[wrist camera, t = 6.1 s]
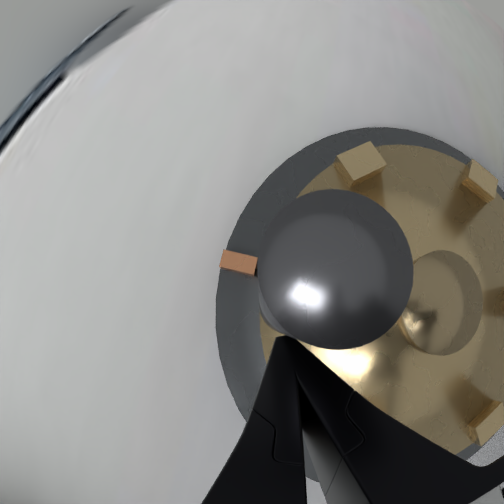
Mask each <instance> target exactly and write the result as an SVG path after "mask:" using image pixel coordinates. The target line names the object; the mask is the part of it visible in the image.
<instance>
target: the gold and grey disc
mask: <svg viewBox="0 0 504 504" xmlns="http://www.w3.org/2000/svg"><path fill="white" fill-rule="evenodd" d="M369 141H371V143H372V144H373V145H374V147H377V146H382V145H399V144H402V145H412V146H420V147H424V148H428V149H432V150H436V151H438V152H441V153H443V154H446V155H448V156H451V157H453V158H454V159H456V160H458V161H460V162H462V163H464V164H465V165H466V164H467V163H469V162H470V161H471V159H470V158H468V157H467V156H466V155H464V154H463V153H462V152H460V151H458V150H457V149H455V148H453V147H451V146H449V145H448V144H446V143H444V142H442V141H439V140H437V139H435V138H432V137H430V136H427V135H424V134H420V133H417V132H413V131H409V130H403V129H396V128H388V127H383V128H362V129H355V130H349V131H345V132H341V133H338V134H335V135H331V136H328V137H326V138H324V139H321V140H319V141H317V142H315V143H313V144H311V145H309V146H307V147H305V148H304V149H302V150H301V151H299V152H298V153H296V154H295V155H293V156H292V157H290V158H289V159H287V160H286V161H285V162H284V163H283V164H282V165H280V166H279V167H278V168H277V169H276V170H275V171H274V172H273V173H272V174H270V175H269V177H268V178H267V179H266V180H265V181H264V183H263V184H262V185H261V186H260V187H259V189H258V190H257V191H256V192H255V193H254V195H253V196H252V198H251V199H250V201H249V203H248V204H247V206H246V207H245V209H244V211H243V212H242V214H241V215H240V217H239V219H238V221H237V224H236V226H235V228H234V230H233V233H232V235H231V237H230V239H229V242H228V245H227V248H226V250H223V254H222V258H221V262H220V265H219V267H220V268H221V269H220V275H219V282H218V289H217V295H216V333H217V341H218V348H219V356H220V360H221V363H222V367H223V371H224V374H225V378H226V381H227V385H228V387H229V389H230V391H231V394H232V396H233V398H234V400H235V403H236V405H237V407H238V409H239V411H240V413H241V414H242V416H243V417H244V419H245V420H246V422H247V420H248V418H249V415H250V412H251V410H252V407H253V404H254V401H255V398H256V395H257V392H258V389H259V387H260V384H261V381H262V378H263V375H264V372H265V368H266V365H267V364H266V360H265V357H264V352H263V346H262V339H261V333H260V311H259V292H258V273H257V261H258V252H259V248H260V244H261V241H262V238H263V235H264V233H265V231H266V229H267V227H268V225H269V224H270V222H271V221H272V220H273V218H274V217H275V216H276V214H277V213H278V212H279V211H280V210H281V209H282V208H283V207H285V206H286V205H287V204H288V203H290V202H291V201H293V200H295V199H296V198H297V196H298V195H299V194H300V192H301V191H302V190H303V189H304V188H305V187H306V186H307V185H308V184H309V183H310V182H311V181H312V180H313V179H314V178H315V177H316V176H317V175H318V174H320V173H321V172H322V171H324V170H325V169H326V168H328V167H329V166H330V165H332V164H333V163H334V161H335V158H336V156H337V155H339V154H341V153H343V152H346V151H348V150H350V149H353V148H355V147H357V146H359V145H362V144H364V143H366V142H369ZM496 192H497V193H498V194H499V195H500V196H501V197H502V199H503V200H504V192H503V191H502V190H501V188H500V187H499V186H498V185H497V189H496ZM485 443H486V442H485ZM485 443H484V444H485ZM484 444H483V445H484ZM303 445H304V460H305V475H306V477H308V478H310V479H312V480H314V481H317V482H319V480H318V477H317V474H316V471H315V469H314V466H313V463H312V460H311V457H310V455H309V452H308V449H307V446H306V444H305V441H304V438H303ZM483 445H482V446H483ZM482 446H479V445H477V444H475V443H472V444H471V445H470V446H468V447H467V448H465V449H464V450H462V451H460V452H459V453H457V454H456V456H458V457H460V458H462V459H464V460H465V461H466V460H467V459H468V458H470V457H471V456H472V455H474V454H475V453H476V452H477V451H478V450H479V449H480V448H481V447H482ZM319 483H320V482H319Z"/></svg>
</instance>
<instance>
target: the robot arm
mask: <svg viewBox="0 0 504 504" xmlns="http://www.w3.org/2000/svg"><path fill="white" fill-rule="evenodd" d="M303 438H304V441H305V444H306V446H307V449H308V452H309V455H310V457H311V460H312V463H313V466H314V469H315V471H316V474H317V477H318V480H319V482H320V485H321V488H322V491H323V493H324V496H325V499H326V502H327V504H504V488H502V489H501V487H500V484H501V483H503V482H504V456H502V457H500V458H499V459H497V460H496V461H494V462H493V463H491V464H489V465H487V466H483V467H480V466H475V465H473V464H471V463H469V462H467V461H465V460H464V459H462V458H460V457H458V456H456V455H455V454H453V453H451V452H449V451H448V450H446V449H444V448H442V447H441V446H439V445H437V444H436V443H434V442H432V441H430V440H429V439H427V438H425V437H424V436H422V435H420V434H419V433H417V432H415V431H414V430H412V429H410V428H409V427H407V426H405V425H404V424H402V423H401V422H399V421H397V420H396V419H394V418H393V417H391V416H389V415H388V414H386V413H385V412H383V411H382V410H380V409H379V408H377V407H376V406H374V405H373V404H372V403H371V402H369V401H368V400H367V399H366V398H364V397H363V396H362V395H361V394H359V393H358V392H357V391H354V389H353V388H352V387H351V386H350V385H348V384H347V383H346V382H345V381H344V380H343V379H341V378H340V377H339V376H338V375H337V374H336V373H335V372H333V371H332V370H331V369H330V368H329V367H328V366H326V365H325V364H324V363H323V362H322V361H321V360H320V359H318V358H317V357H316V356H315V355H314V354H313V353H312V352H310V351H309V350H308V349H307V348H306V347H305V346H304V345H303V344H301V343H300V342H299V341H298V340H297V339H294V338H292V337H289V336H287V335H284V336H278V337H276V338H275V341H274V344H273V347H272V350H271V353H270V356H269V359H268V362H267V365H266V368H265V372H264V375H263V378H262V381H261V384H260V387H259V389H258V392H257V395H256V398H255V401H254V404H253V407H252V410H251V412H250V415H249V418H248V420H247V423H246V425H245V428H244V430H243V433H242V435H241V437H240V439H239V441H238V443H237V445H236V446H235V448H234V450H233V452H232V453H231V455H230V457H229V459H228V460H227V462H226V464H225V466H224V467H223V469H222V471H221V472H220V474H219V476H218V477H217V479H216V481H215V482H214V484H213V486H212V487H211V489H210V491H209V492H208V494H207V495H206V497H205V499H204V500H203V502H202V503H201V504H307V493H306V475H305V460H304V445H303Z"/></svg>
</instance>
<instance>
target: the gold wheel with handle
mask: <svg viewBox="0 0 504 504" xmlns="http://www.w3.org/2000/svg"><path fill="white" fill-rule="evenodd" d="M497 183H498V179H496V178H495V177H494V176H493V175H492V174H491V173H489V172H488V171H487V170H486V169H485V168H483V167H482V166H481V165H480V164H479V163H477V162H476V161H475V160H474V159H472V160H471V161H470V162H469V163H467V164H466V165H465V164H464V163H462V162H460V161H458V160H456V159H454V158H453V157H451V156H448V155H446V154H443V153H441V152H438V151H436V150H432V149H428V148H424V147H420V146H412V145H402V144H399V145H382V146H377V147H374V145H373V144H372V143H371V141H369V142H366V143H364V144H362V145H359V146H357V147H355V148H353V149H350V150H348V151H346V152H343V153H341V154H339V155H337V156H336V158H335V161H334V163H333V164H332V165H330V166H329V167H328V168H326V169H325V170H324V171H322V172H321V173H320V174H318V175H317V176H316V177H315V178H314V179H313V180H312V181H311V182H310V183H309V184H308V185H307V186H306V187H305V188H304V189H303V190H302V191H301V192H300V194H299V195H298V196H297V198H296V199H295V200H293V201H291V202H290V203H288V204H287V205H286V206H285V207H283V208H282V209H281V210H280V211H279V212H278V213H277V214H276V216H275V217H274V218H273V220H272V221H271V222H270V224H269V225H268V227H267V229H266V231H265V233H264V235H263V238H262V241H261V244H260V248H259V252H258V261H257V273H258V292H259V311H260V333H261V339H262V346H263V352H264V357H265V360H266V364H267V362H268V359H269V356H270V353H271V350H272V347H273V344H274V341H275V338H276V337H278V336H284V335H287V336H289V337H292V338H294V339H297V340H298V341H299V342H300V343H301V344H303V345H304V346H305V347H306V348H307V349H308V350H309V351H310V352H312V353H313V354H314V355H315V356H316V357H317V358H318V359H320V360H321V361H322V362H323V363H324V364H325V365H326V366H328V367H329V368H330V369H331V370H332V371H333V372H335V373H336V374H337V375H338V376H339V377H340V378H341V379H343V380H344V381H345V382H346V383H347V384H348V385H350V386H351V387H352V388H353V389H354V391H357V392H358V393H359V394H361V395H362V396H363V397H364V398H366V399H367V400H368V401H369V402H371V403H372V404H373V405H374V406H376V407H377V408H379V409H380V410H382V411H383V412H385V413H386V414H388V415H389V416H391V417H393V418H394V419H396V420H397V421H399V422H401V423H402V424H404V425H405V426H407V427H409V428H410V429H412V430H414V431H415V432H417V433H419V434H420V435H422V436H424V437H425V438H427V439H429V440H430V441H432V442H434V443H436V444H437V445H439V446H441V447H442V448H444V449H446V450H448V451H449V452H451V453H453V454H455V455H456V454H457V453H459V452H460V451H462V450H464V449H465V448H467V447H468V446H470V445H471V444H472V443H475V444H477V445H479V446H482V445H483V444H484V443H485V442H487V441H488V440H489V439H490V438H491V437H492V436H493V435H494V434H495V433H496V432H497V431H498V430H499V429H500V428H501V427H502V425H503V424H504V200H503V199H502V197H501V196H500V195H499V194H498V193H497V192H496V189H497Z"/></svg>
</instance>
